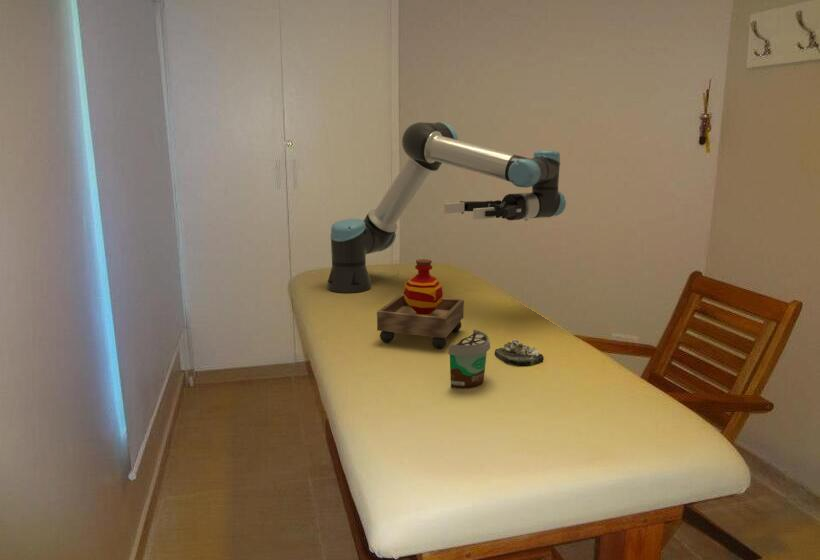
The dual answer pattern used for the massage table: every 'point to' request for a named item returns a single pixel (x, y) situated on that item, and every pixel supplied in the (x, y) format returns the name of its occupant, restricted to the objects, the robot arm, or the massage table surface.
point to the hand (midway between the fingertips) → (458, 211)
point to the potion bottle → (423, 290)
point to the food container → (468, 361)
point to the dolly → (420, 320)
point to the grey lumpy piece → (519, 354)
